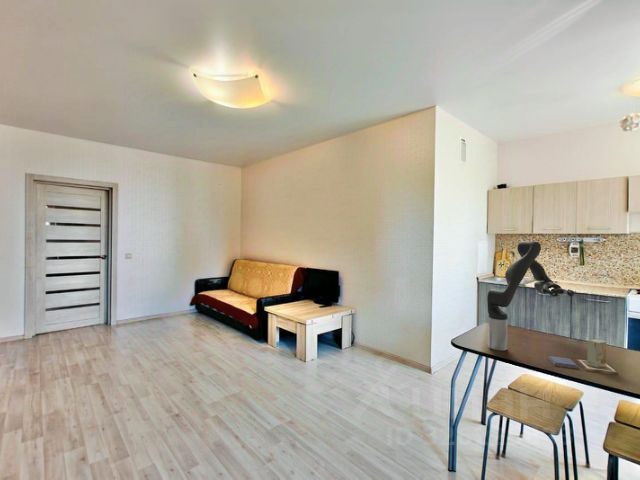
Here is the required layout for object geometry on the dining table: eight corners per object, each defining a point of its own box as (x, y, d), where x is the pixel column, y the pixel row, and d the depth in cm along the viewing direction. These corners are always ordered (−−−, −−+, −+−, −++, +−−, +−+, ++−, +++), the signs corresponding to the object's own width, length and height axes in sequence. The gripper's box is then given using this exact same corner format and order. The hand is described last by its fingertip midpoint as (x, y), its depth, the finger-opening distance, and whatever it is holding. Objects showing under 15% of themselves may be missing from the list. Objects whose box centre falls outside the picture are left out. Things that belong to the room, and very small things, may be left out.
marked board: (586, 370, 148) (586, 368, 148) (576, 361, 159) (576, 358, 159) (618, 375, 143) (618, 372, 143) (605, 365, 154) (606, 362, 154)
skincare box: (596, 368, 148) (597, 342, 148) (586, 364, 152) (587, 339, 152) (606, 366, 150) (606, 341, 150) (596, 363, 154) (596, 338, 154)
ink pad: (553, 365, 153) (553, 362, 153) (547, 358, 162) (547, 355, 162) (578, 369, 149) (578, 366, 149) (570, 361, 159) (571, 358, 159)
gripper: (538, 282, 190) (546, 286, 175) (566, 283, 185) (577, 288, 169) (538, 294, 190) (546, 299, 175) (566, 296, 185) (577, 301, 170)
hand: (561, 293), depth 172 cm, fingers open, 8 cm apart
